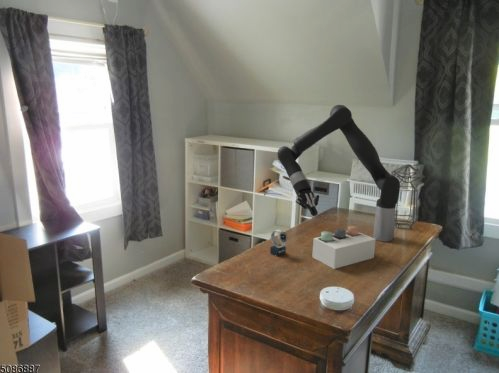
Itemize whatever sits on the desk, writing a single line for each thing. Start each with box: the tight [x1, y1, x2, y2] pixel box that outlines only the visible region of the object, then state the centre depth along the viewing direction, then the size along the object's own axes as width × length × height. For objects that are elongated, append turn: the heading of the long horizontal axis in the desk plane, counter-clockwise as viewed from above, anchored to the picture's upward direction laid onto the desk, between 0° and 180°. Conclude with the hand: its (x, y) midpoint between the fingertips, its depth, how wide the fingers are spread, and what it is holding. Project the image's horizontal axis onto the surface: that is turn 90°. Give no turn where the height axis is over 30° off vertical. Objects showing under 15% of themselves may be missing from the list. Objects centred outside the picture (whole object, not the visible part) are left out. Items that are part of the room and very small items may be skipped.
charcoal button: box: [333, 227, 347, 240], centre depth 186 cm, size 5×5×4 cm
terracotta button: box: [346, 225, 360, 237], centre depth 190 cm, size 5×5×4 cm
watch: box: [269, 229, 288, 257], centre depth 187 cm, size 6×8×11 cm
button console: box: [311, 230, 377, 270], centre depth 185 cm, size 24×14×9 cm, turn 122°
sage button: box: [320, 230, 334, 243], centre depth 182 cm, size 5×5×4 cm
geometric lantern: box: [390, 164, 426, 230], centre depth 227 cm, size 16×16×35 cm
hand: (315, 215), depth 187 cm, fingers closed
